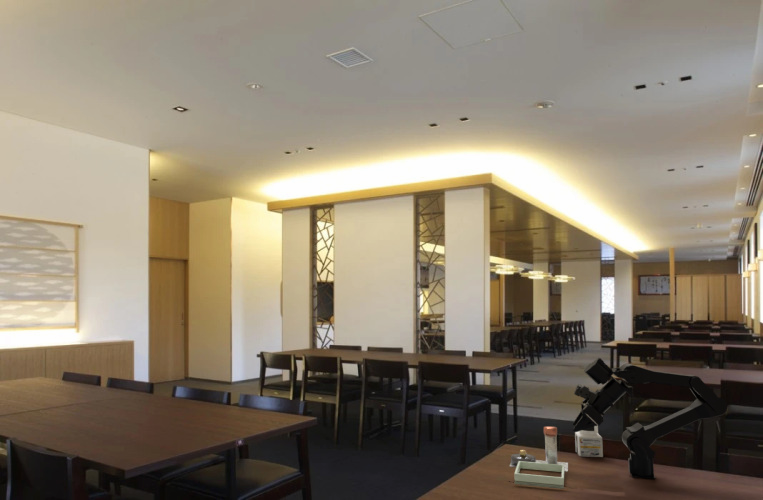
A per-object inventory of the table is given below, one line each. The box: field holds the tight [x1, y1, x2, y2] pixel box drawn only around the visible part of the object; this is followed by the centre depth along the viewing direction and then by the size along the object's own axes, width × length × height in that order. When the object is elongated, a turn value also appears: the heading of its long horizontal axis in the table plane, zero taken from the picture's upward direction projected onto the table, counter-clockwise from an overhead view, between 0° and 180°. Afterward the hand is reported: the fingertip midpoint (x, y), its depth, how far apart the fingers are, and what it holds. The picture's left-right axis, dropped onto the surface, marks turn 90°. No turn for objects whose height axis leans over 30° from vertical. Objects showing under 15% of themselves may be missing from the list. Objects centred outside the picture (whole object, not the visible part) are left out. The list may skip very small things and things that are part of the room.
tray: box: [513, 461, 565, 490], centre depth 165 cm, size 14×14×3 cm
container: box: [574, 424, 604, 458], centre depth 191 cm, size 8×8×13 cm
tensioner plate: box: [509, 449, 569, 472], centre depth 178 cm, size 18×10×5 cm, turn 71°
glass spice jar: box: [543, 425, 558, 464], centre depth 177 cm, size 4×4×12 cm
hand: (573, 428), depth 175 cm, fingers open, 9 cm apart
